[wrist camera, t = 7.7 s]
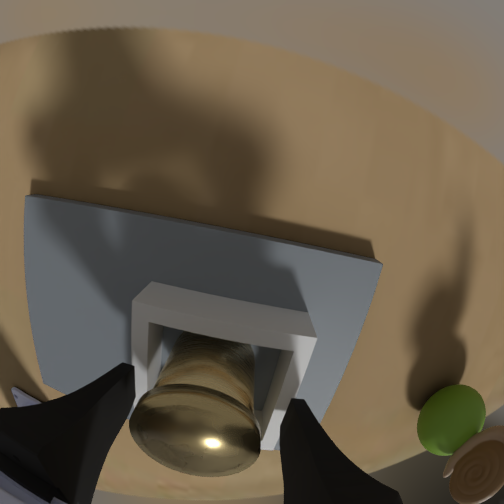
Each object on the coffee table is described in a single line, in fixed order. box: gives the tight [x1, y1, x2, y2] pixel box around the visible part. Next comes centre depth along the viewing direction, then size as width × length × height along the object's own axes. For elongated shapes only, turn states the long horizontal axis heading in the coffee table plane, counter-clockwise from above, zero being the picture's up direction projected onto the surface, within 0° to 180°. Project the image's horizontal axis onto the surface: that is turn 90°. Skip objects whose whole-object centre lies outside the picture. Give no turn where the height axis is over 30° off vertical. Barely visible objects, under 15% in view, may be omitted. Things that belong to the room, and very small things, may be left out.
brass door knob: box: [129, 331, 261, 477], centre depth 12 cm, size 5×5×6 cm
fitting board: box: [24, 194, 383, 450], centre depth 14 cm, size 14×20×4 cm
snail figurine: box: [417, 385, 504, 504], centre depth 11 cm, size 5×6×12 cm
